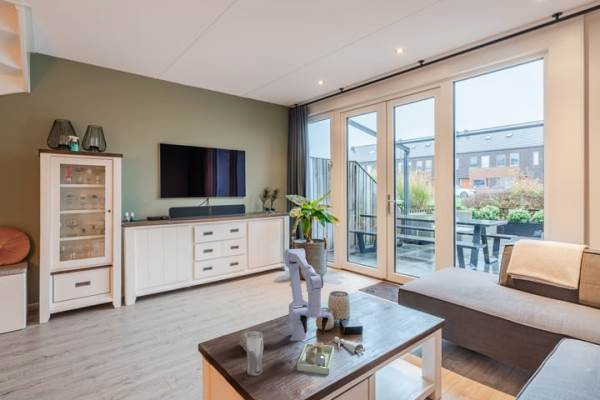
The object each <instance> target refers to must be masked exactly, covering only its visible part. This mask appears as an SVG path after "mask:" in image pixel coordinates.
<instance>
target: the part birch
mask: <svg viewBox="0 0 600 400" xmlns="http://www.w3.org/2000/svg"><path fill="white" fill-rule="evenodd" d="M316 355H317V348H313V347H308V348H307V350H306V363H308V364H315V356H316Z"/></svg>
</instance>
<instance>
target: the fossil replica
mask: <svg viewBox="0 0 600 400" xmlns="http://www.w3.org/2000/svg"><path fill="white" fill-rule="evenodd" d="M250 332H254V331H252V330H249V329H245V330H244V331H243V332H242V333H241V334H240V336H239V345H240V346H241V347H242V348H243V350H244V351H245V352H246V338H247V334H248V333H250Z"/></svg>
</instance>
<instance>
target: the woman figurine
mask: <svg viewBox="0 0 600 400" xmlns="http://www.w3.org/2000/svg"><path fill="white" fill-rule="evenodd" d="M333 341H334V343H336V344H337V345H338V348H340V345H343V346H344V347H345V348H346V349H347V350H348V351H349V352H350V353H352V354H353V355H354V354H355V352H356V353H358V354H362V352H366V348H365V347H364V345H363V344H361V343H357V342H356V340H345V339H344V338H339V337H338V336H335V337H334V338H333Z"/></svg>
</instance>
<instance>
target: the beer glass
mask: <svg viewBox="0 0 600 400" xmlns="http://www.w3.org/2000/svg"><path fill="white" fill-rule="evenodd" d="M245 352H246V358H247V362H248V364H247V369H246V372H247V374H248V375H249V376H252V377H253V376H254V377H256V376H260V375H261V374H262V373H263V366H262V358H263V353H264V334H263V333H262V332H261V331H255V330H254V331H253V332H250V333H248V334H247V338H246V351H245Z"/></svg>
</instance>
